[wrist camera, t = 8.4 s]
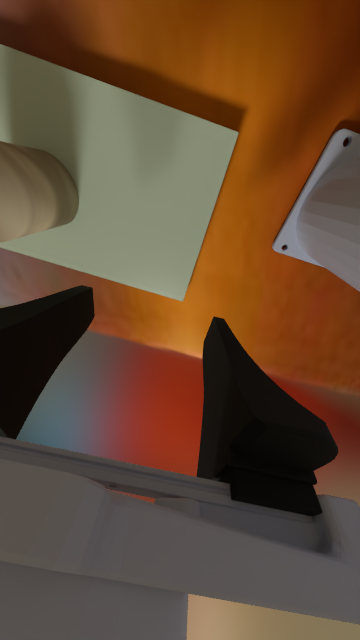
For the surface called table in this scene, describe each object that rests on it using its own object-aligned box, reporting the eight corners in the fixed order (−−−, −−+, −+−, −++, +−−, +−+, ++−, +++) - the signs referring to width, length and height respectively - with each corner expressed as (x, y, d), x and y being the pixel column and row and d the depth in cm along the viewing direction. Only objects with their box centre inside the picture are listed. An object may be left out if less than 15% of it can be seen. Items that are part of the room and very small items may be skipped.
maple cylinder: (78, 164, 14) (11, 153, 9) (78, 233, 17) (27, 254, 12) (8, 136, 13) (-103, 109, 9) (20, 213, 16) (-58, 225, 11)
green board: (235, 136, 13) (238, 132, 12) (184, 294, 21) (182, 301, 20) (-99, 14, 12) (-134, -6, 11) (-24, 232, 19) (-40, 235, 18)
